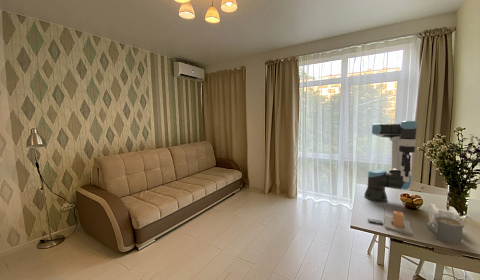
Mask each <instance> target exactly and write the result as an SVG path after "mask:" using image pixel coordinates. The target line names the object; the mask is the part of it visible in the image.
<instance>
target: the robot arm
mask: <svg viewBox="0 0 480 280" xmlns="http://www.w3.org/2000/svg"><path fill="white" fill-rule="evenodd" d="M417 128H418V122H417V121H416V120H403V121H401V122H400V123H373V124H372V126H371V134H372V135H375V136H377V137H380V138H388V139H389V141H391V142H392V143H391V169H389V171H388V172H387V171H386V170H384V169H370V170H368V173H367V188H366V190H365V191H364V197H365V198H366V199H367V198H368V200H371V201H374V202H381V203H382V202H383V203H384V202H387V201H388V195H387V192H386V188H387V189H388V188H389V189H396V190H401V191H402V190H403V191H408V190H409V189H410V187H411V184H412V183H411V182H412V175H411V173H410V172H411V171H412V170H411V162H412V161H411V158H412V155H411V153H412V154H413V153H415V152H416V143H417Z"/></svg>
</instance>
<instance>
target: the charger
mask: <svg viewBox="0 0 480 280" xmlns="http://www.w3.org/2000/svg"><path fill="white" fill-rule="evenodd" d="M392 213H393V214H392V217H393V223H392V225H393V226H397V227H401V228H404V227H403V220H404V215H405V214H404V212H402V211H397V210H393V212H392Z"/></svg>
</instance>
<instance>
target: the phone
mask: <svg viewBox="0 0 480 280" xmlns="http://www.w3.org/2000/svg"><path fill="white" fill-rule="evenodd" d="M367 221H368V223H369V224H375V225H380V226H383V225H384V222H383V221H382V220H381V219H375V218H367Z"/></svg>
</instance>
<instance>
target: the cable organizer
mask: <svg viewBox="0 0 480 280" xmlns="http://www.w3.org/2000/svg"><path fill="white" fill-rule="evenodd" d="M428 207H429V211H428V219H429V220H428V221H435V218H436V217H437V216H443V217H449V218H452V219H455V220H458V221H461V220H460V217H461V216H460V213H458V211H457V210H456V208H455V207H454V206H449V207H448V210H446V209H441V208H438V207H437V206H436V205H435V203H429V206H428ZM431 227H432V229H434V228H435V225H434V224H432V225H431Z"/></svg>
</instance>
